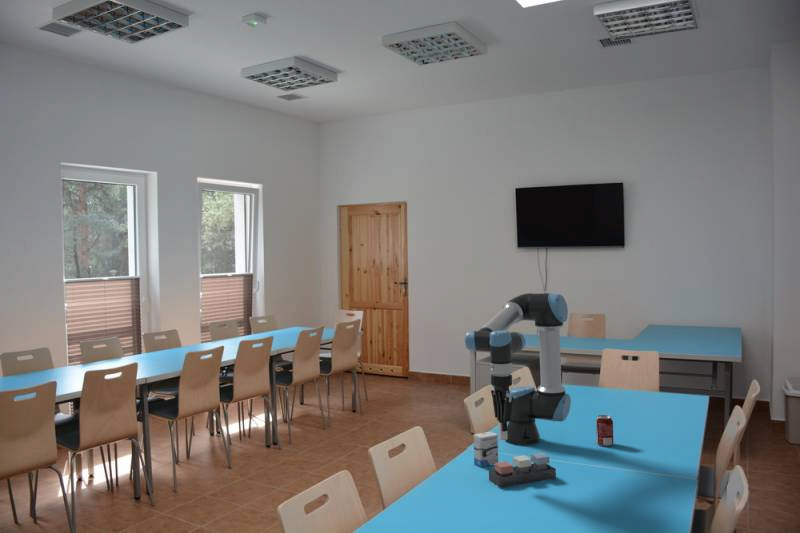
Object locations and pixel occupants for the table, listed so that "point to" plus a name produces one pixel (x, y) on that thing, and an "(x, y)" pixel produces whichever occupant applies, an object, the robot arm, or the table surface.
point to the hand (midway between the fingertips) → (503, 439)
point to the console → (522, 476)
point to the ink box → (485, 449)
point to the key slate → (540, 460)
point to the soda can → (604, 430)
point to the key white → (522, 463)
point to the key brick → (503, 468)
